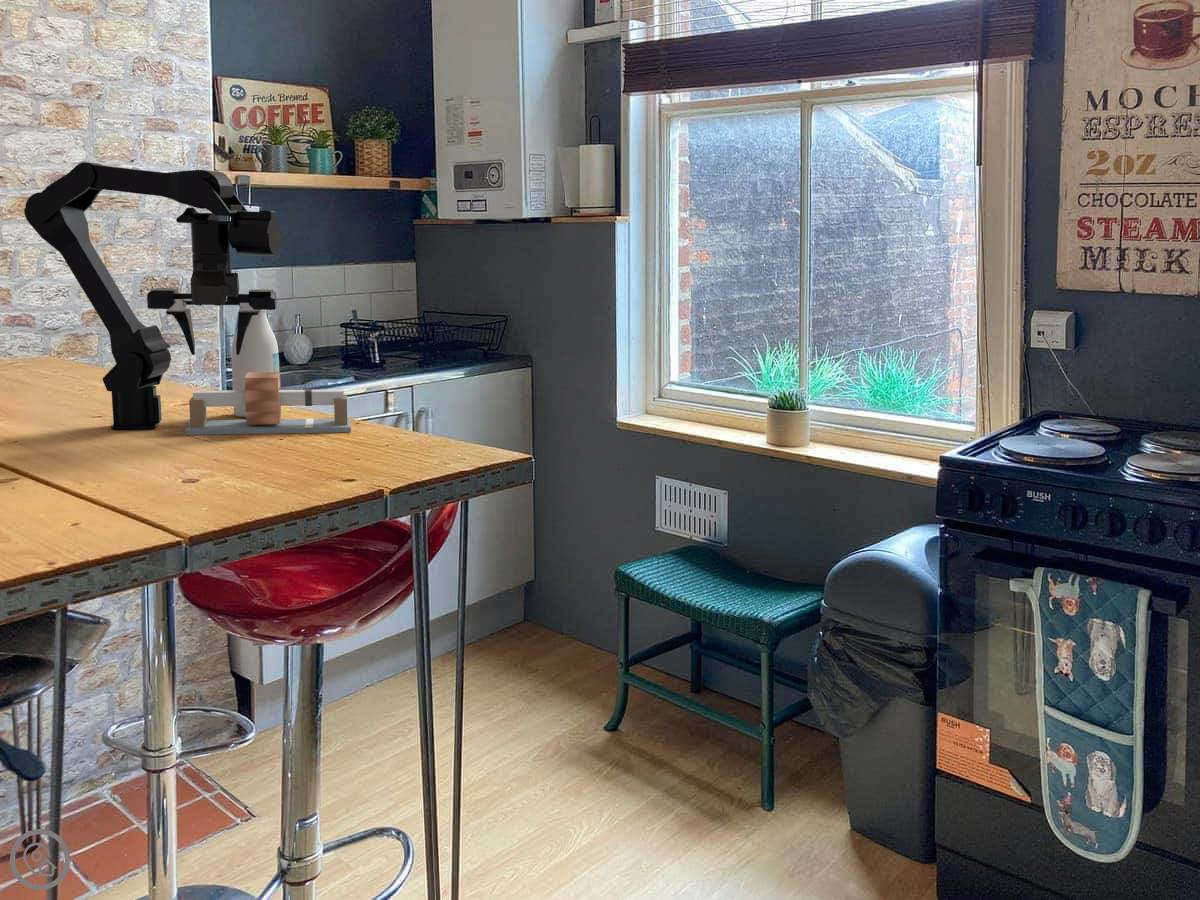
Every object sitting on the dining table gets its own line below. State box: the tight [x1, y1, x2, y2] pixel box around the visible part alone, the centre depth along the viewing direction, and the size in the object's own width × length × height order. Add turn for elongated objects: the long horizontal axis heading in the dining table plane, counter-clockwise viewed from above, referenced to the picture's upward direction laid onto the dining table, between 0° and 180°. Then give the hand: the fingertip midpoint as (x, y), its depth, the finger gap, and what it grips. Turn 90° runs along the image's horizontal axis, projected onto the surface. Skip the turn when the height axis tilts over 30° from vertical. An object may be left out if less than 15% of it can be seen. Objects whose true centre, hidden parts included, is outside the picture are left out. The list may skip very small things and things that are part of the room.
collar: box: [245, 371, 282, 425], centre depth 182 cm, size 5×6×7 cm
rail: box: [184, 388, 352, 436], centre depth 182 cm, size 25×8×6 cm, turn 102°
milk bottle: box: [231, 305, 280, 418], centre depth 193 cm, size 8×8×20 cm
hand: (215, 354), depth 179 cm, fingers open, 6 cm apart
